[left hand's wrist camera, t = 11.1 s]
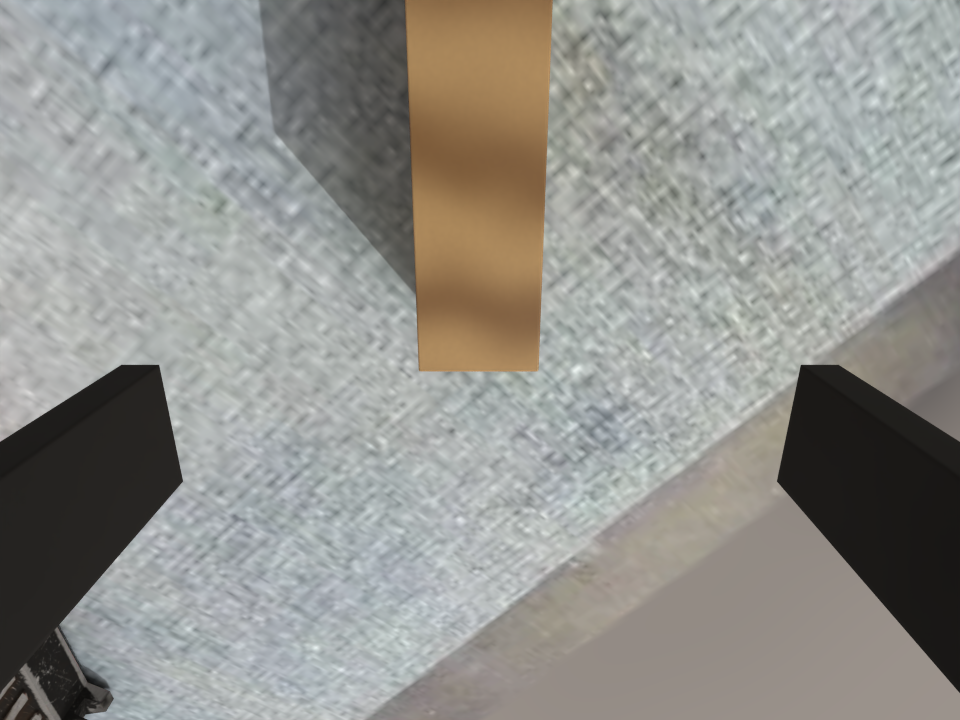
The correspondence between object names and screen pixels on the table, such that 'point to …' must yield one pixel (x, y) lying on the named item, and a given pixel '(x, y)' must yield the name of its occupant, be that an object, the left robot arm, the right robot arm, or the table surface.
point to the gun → (52, 687)
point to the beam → (478, 178)
